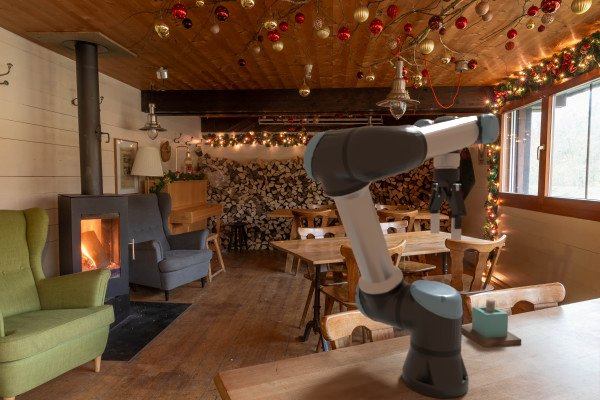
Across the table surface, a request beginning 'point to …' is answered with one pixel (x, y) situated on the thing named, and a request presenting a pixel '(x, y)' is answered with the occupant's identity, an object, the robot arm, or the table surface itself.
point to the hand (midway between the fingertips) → (444, 236)
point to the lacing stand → (492, 341)
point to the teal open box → (490, 322)
